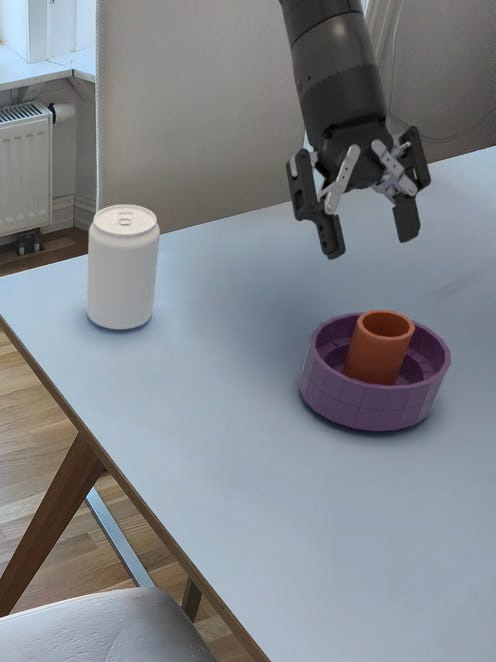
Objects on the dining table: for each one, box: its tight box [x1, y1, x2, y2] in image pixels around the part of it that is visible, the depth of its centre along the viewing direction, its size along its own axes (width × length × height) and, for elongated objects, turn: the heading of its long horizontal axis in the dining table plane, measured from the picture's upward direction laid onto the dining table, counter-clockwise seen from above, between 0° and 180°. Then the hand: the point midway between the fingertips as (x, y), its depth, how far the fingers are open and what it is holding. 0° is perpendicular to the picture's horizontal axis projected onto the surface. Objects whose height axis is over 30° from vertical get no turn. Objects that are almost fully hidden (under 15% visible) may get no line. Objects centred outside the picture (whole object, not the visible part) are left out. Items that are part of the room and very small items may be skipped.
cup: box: [342, 309, 415, 386], centre depth 93 cm, size 6×6×8 cm
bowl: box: [298, 311, 452, 432], centre depth 95 cm, size 14×14×6 cm
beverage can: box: [86, 204, 161, 330], centre depth 104 cm, size 8×8×12 cm
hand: (374, 248), depth 89 cm, fingers open, 8 cm apart
